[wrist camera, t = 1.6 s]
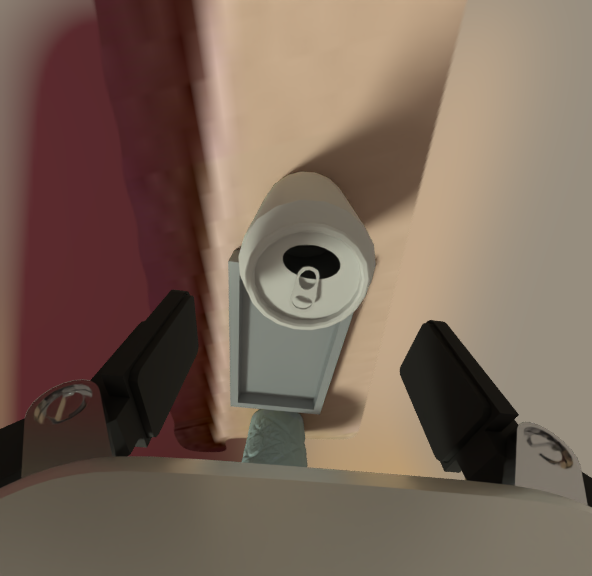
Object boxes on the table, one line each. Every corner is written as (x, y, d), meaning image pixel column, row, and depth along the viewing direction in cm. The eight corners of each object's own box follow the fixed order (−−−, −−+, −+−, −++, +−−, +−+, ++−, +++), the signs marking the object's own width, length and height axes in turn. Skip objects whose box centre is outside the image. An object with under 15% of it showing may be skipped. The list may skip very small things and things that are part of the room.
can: (358, 181, 21) (413, 230, 11) (332, 260, 25) (354, 351, 15) (270, 159, 20) (237, 190, 10) (257, 244, 24) (225, 329, 14)
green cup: (248, 400, 38) (229, 499, 28) (314, 405, 38) (319, 505, 28) (247, 434, 43) (231, 528, 33) (305, 439, 44) (306, 532, 33)
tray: (234, 249, 24) (228, 261, 22) (359, 265, 25) (364, 278, 23) (234, 390, 36) (230, 406, 34) (318, 398, 37) (319, 414, 35)
